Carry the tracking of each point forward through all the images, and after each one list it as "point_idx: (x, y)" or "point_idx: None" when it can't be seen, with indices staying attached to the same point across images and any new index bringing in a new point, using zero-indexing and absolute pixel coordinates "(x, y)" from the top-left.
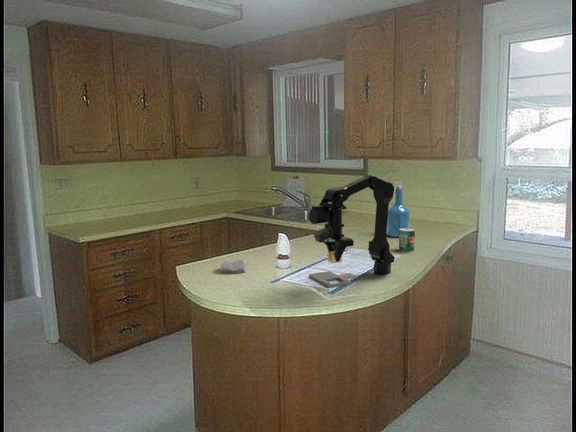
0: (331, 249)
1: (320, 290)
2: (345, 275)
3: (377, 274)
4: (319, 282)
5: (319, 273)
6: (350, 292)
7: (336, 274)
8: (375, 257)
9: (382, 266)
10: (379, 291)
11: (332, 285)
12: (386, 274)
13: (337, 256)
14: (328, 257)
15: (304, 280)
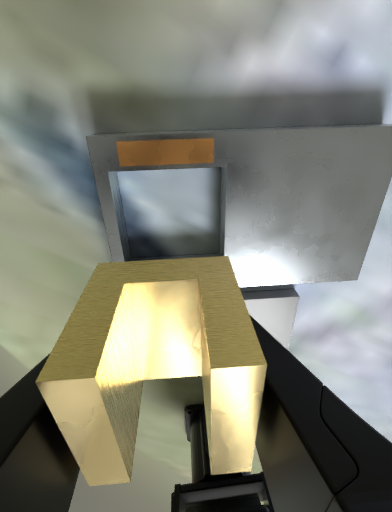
0: (280, 449)
1: (109, 71)
2: (267, 320)
3: (203, 412)
4: (229, 130)
5: (364, 207)
6: (24, 234)
7: (278, 284)
8: (229, 498)
9: (197, 460)
10: (18, 345)
11: (95, 169)
12: (190, 431)
13: (33, 381)
14: (216, 287)
15: (378, 72)
